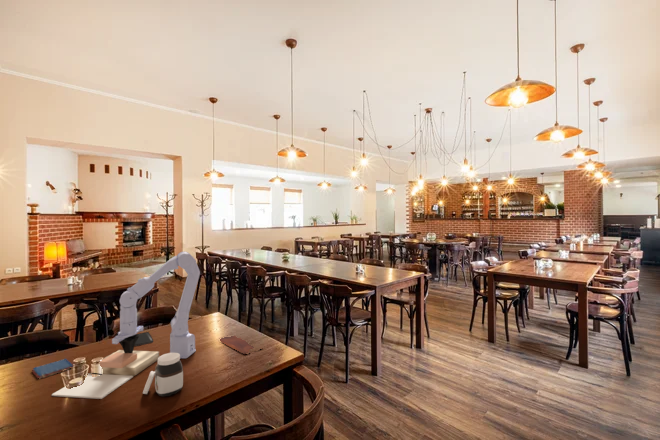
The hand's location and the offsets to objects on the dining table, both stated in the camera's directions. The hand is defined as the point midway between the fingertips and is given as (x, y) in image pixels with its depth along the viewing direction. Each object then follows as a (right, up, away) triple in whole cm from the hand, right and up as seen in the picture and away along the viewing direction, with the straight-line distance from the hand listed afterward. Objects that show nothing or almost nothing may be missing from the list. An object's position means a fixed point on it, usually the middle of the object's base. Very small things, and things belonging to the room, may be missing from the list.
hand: (128, 354), depth 125 cm
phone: (-10, -4, +26) cm, 28 cm away
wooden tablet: (+39, -5, +20) cm, 44 cm away
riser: (0, -4, -1) cm, 4 cm away
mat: (-1, -4, -16) cm, 17 cm away
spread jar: (+24, -4, -20) cm, 31 cm away
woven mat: (-26, -5, -5) cm, 27 cm away
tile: (-1, -1, -5) cm, 5 cm away
